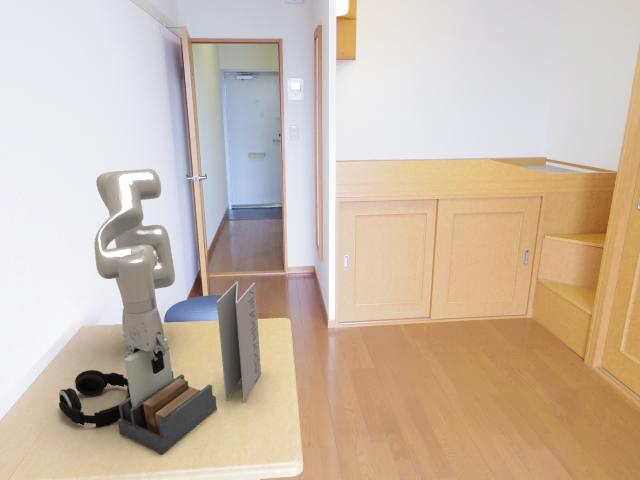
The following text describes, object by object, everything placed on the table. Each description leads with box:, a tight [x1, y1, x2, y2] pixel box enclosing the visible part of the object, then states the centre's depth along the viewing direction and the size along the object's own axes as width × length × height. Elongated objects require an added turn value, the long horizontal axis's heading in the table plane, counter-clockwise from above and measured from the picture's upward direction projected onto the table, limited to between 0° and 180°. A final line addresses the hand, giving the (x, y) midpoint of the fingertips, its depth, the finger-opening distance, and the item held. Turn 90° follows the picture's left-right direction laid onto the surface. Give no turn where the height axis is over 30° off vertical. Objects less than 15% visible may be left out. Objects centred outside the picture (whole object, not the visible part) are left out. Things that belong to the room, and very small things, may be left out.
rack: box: [117, 370, 218, 455], centre depth 120 cm, size 15×19×8 cm
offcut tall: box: [143, 378, 189, 436], centre depth 120 cm, size 3×12×9 cm, turn 151°
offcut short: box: [155, 386, 201, 436], centre depth 118 cm, size 3×12×8 cm, turn 151°
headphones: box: [58, 369, 130, 428], centre depth 127 cm, size 18×8×20 cm
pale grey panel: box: [123, 337, 174, 408], centre depth 121 cm, size 2×12×20 cm, turn 151°
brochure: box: [216, 280, 262, 404], centre depth 131 cm, size 14×6×30 cm, turn 168°
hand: (149, 367), depth 119 cm, fingers open, 6 cm apart
